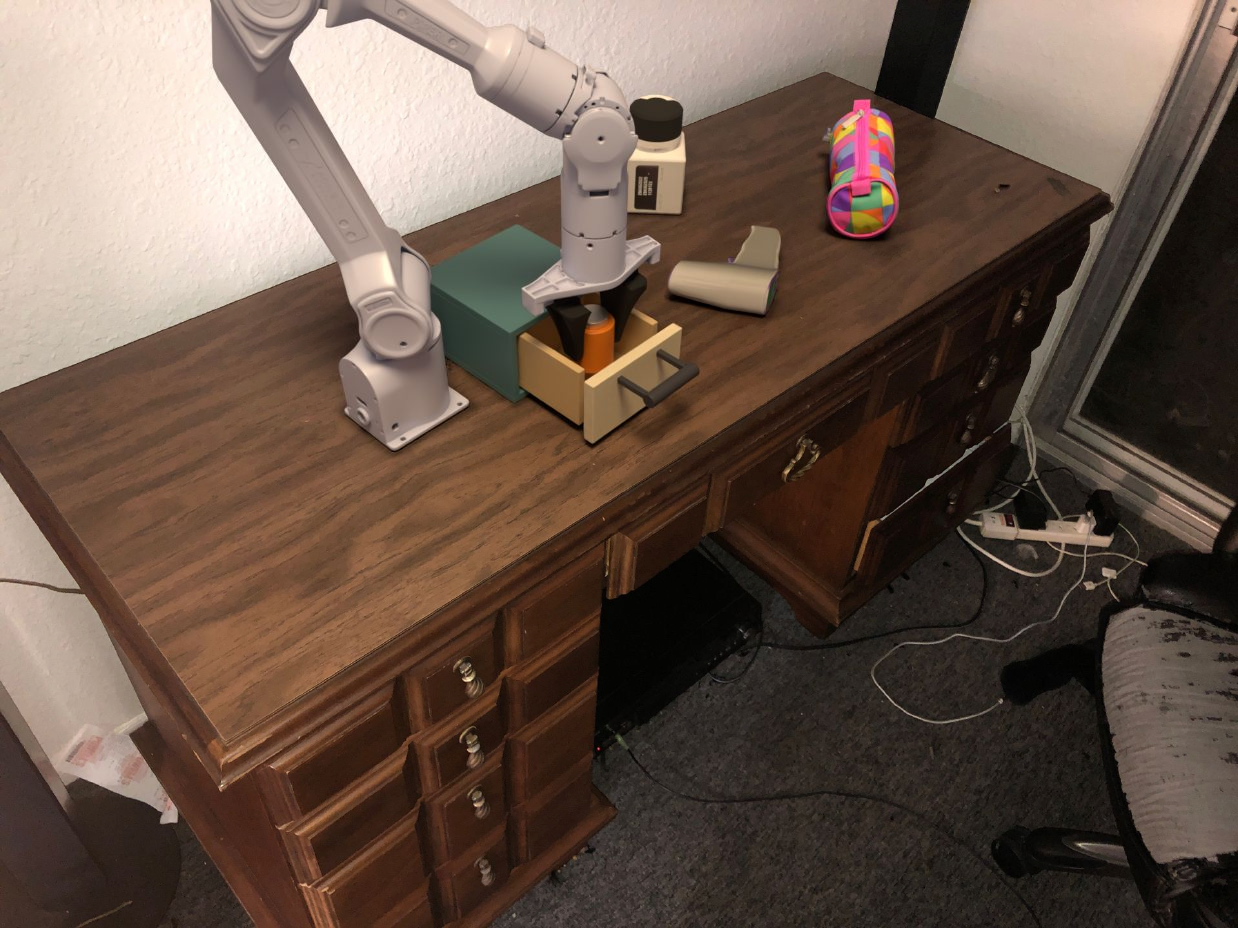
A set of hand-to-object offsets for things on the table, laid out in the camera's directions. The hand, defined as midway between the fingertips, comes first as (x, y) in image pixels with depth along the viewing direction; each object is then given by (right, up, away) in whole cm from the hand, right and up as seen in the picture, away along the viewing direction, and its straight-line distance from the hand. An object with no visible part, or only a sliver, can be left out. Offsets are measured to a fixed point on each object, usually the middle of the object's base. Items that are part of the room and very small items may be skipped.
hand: (592, 346), depth 92 cm
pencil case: (+34, +23, +33) cm, 52 cm away
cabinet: (-8, +1, +9) cm, 12 cm away
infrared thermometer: (+15, +10, +19) cm, 27 cm away
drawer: (+1, -4, +3) cm, 5 cm away
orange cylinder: (0, -1, +1) cm, 2 cm away
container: (+7, +23, +32) cm, 40 cm away
